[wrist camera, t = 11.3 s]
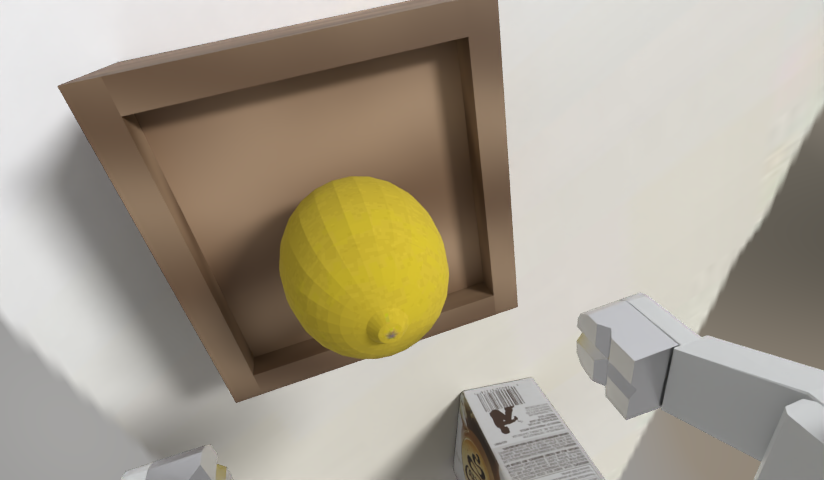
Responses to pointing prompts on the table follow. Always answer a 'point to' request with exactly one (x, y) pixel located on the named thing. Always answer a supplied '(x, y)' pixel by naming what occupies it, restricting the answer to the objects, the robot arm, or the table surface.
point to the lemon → (363, 267)
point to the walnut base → (307, 163)
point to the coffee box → (516, 437)
